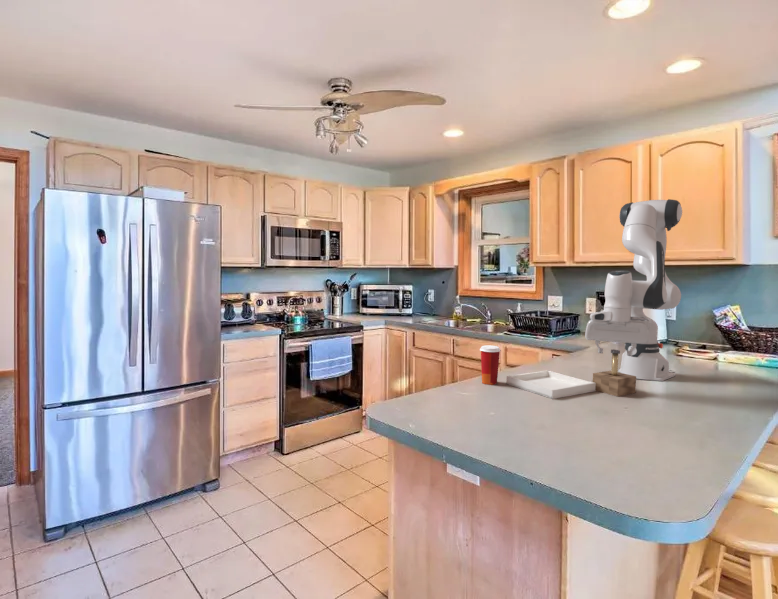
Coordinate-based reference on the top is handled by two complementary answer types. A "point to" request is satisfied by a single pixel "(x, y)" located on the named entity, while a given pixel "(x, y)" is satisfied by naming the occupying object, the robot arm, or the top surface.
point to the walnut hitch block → (614, 383)
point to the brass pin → (614, 362)
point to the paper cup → (489, 364)
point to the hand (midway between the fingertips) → (614, 354)
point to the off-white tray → (550, 384)
